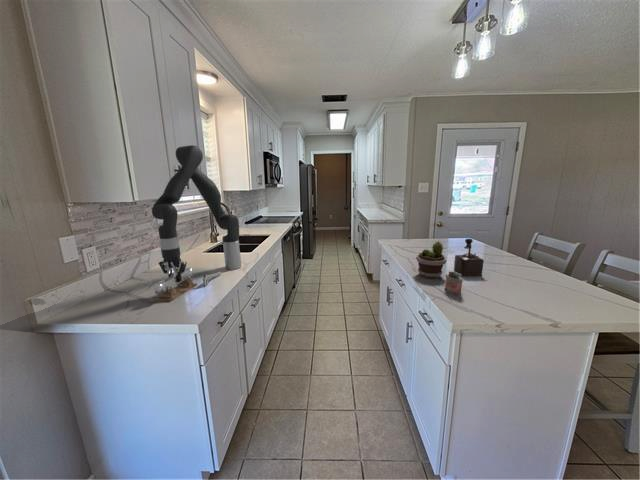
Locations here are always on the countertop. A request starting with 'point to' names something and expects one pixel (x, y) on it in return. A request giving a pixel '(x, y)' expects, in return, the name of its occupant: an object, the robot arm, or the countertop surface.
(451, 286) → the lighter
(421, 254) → the flowerpot
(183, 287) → the tool rest
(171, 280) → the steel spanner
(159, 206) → the robot arm
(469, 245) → the brown box with post
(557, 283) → the countertop surface
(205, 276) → the caliper
